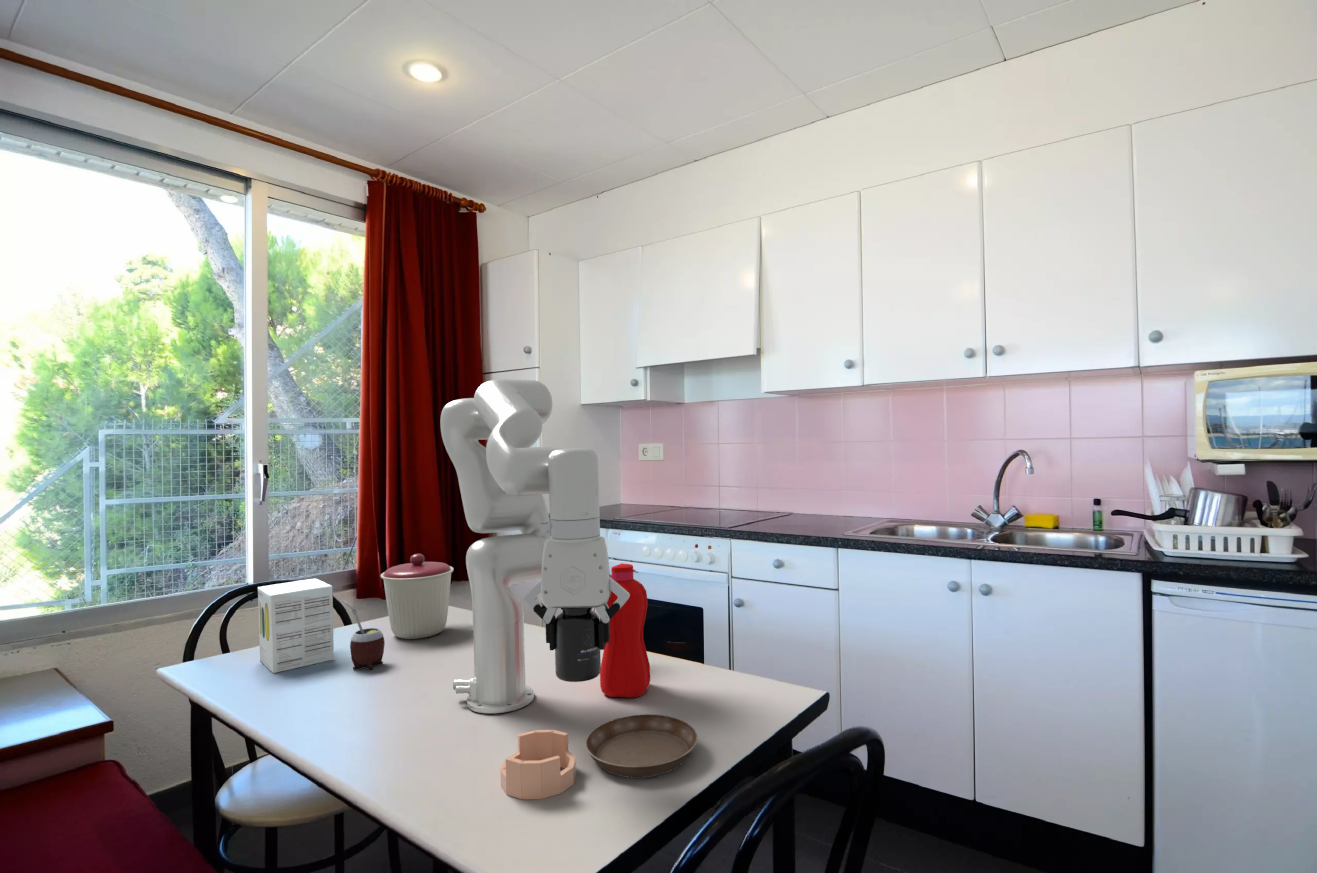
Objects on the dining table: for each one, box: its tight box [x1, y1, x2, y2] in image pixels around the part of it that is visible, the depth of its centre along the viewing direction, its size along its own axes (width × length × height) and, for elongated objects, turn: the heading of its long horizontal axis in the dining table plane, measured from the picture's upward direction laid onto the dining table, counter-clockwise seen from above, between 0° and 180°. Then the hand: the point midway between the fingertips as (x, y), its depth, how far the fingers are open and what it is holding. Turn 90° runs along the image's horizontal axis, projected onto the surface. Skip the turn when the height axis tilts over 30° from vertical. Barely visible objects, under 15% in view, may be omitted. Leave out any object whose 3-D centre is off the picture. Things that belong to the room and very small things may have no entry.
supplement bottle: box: [554, 607, 602, 683], centre depth 101 cm, size 7×7×12 cm
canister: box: [380, 553, 454, 640], centre depth 176 cm, size 18×18×21 cm
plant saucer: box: [584, 713, 699, 779], centre depth 105 cm, size 18×18×3 cm
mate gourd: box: [342, 599, 385, 672], centre depth 151 cm, size 8×8×15 cm
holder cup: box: [499, 729, 577, 800], centre depth 98 cm, size 11×11×5 cm
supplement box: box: [257, 577, 335, 674], centre depth 157 cm, size 13×13×18 cm
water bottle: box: [593, 562, 651, 699], centre depth 132 cm, size 9×11×25 cm
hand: (578, 646), depth 101 cm, fingers closed on supplement bottle, 6 cm apart
